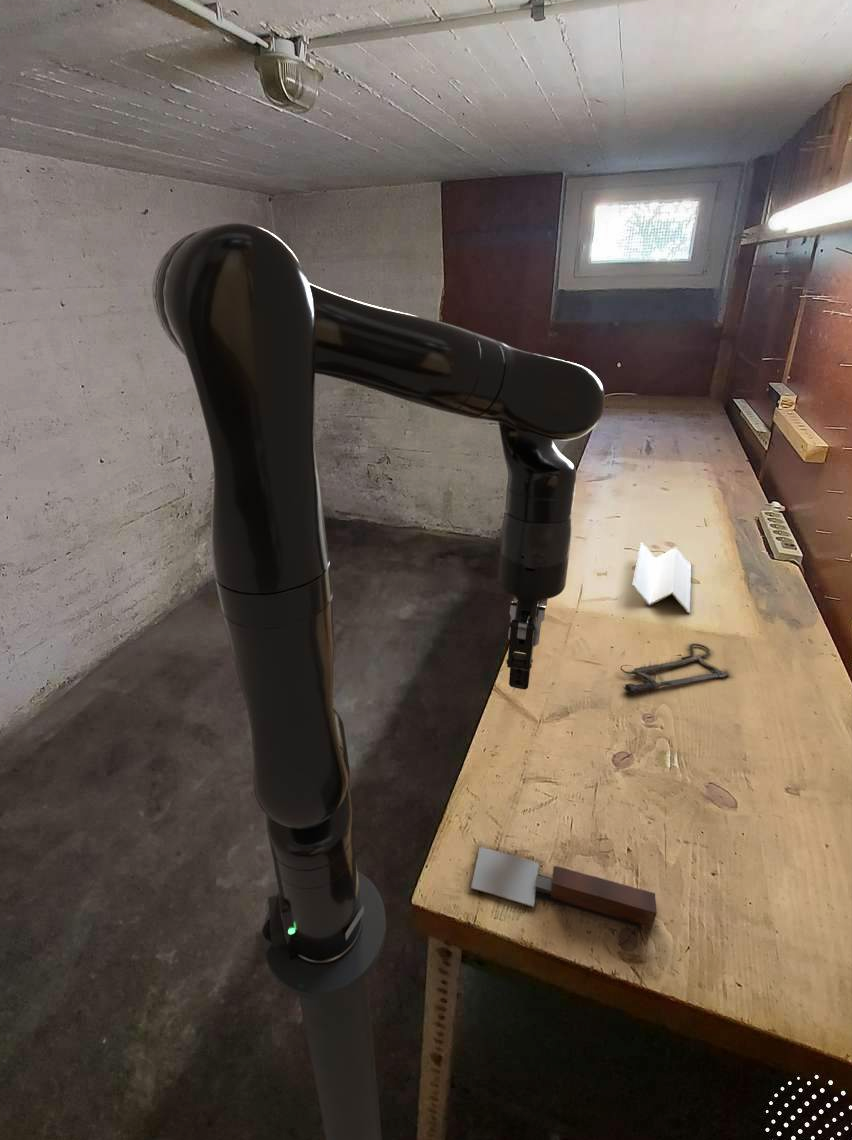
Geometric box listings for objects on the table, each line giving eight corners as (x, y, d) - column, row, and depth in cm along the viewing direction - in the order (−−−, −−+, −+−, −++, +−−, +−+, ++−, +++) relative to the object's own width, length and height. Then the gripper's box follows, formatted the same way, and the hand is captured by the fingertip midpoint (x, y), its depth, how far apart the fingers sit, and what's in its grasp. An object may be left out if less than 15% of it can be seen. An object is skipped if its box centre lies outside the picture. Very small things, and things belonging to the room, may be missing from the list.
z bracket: (669, 576, 151) (690, 564, 148) (665, 624, 131) (689, 612, 128) (640, 542, 151) (661, 529, 147) (631, 585, 131) (655, 572, 127)
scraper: (649, 894, 71) (654, 879, 70) (653, 943, 66) (658, 928, 65) (479, 847, 77) (480, 832, 76) (470, 888, 72) (471, 873, 71)
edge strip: (492, 884, 73) (492, 883, 73) (496, 863, 76) (496, 862, 75) (641, 928, 68) (641, 927, 68) (640, 904, 70) (640, 903, 70)
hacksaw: (627, 697, 104) (628, 690, 103) (597, 663, 113) (597, 657, 112) (738, 675, 108) (740, 668, 108) (700, 644, 117) (702, 638, 117)
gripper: (510, 519, 69) (502, 628, 77) (489, 573, 57) (482, 696, 65) (573, 526, 67) (558, 637, 74) (565, 584, 55) (548, 709, 62)
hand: (523, 664), depth 69 cm, fingers open, 8 cm apart
